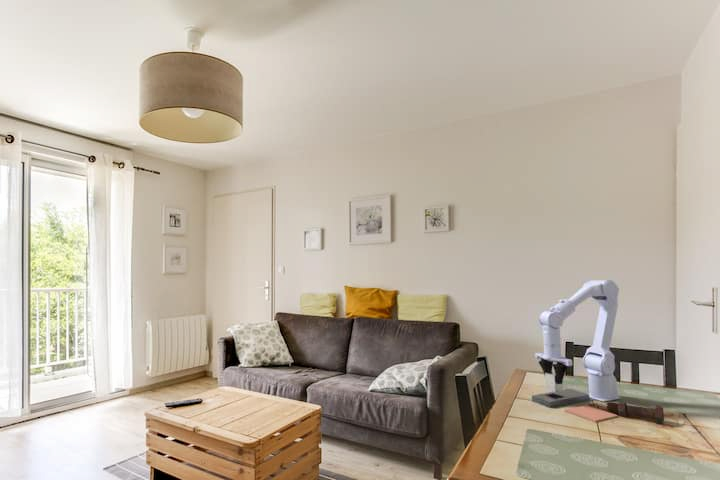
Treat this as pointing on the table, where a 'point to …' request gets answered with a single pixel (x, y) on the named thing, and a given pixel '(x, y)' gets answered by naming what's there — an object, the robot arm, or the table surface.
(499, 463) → the table surface
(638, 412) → the bolt
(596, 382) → the robot arm
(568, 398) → the block
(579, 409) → the mat
